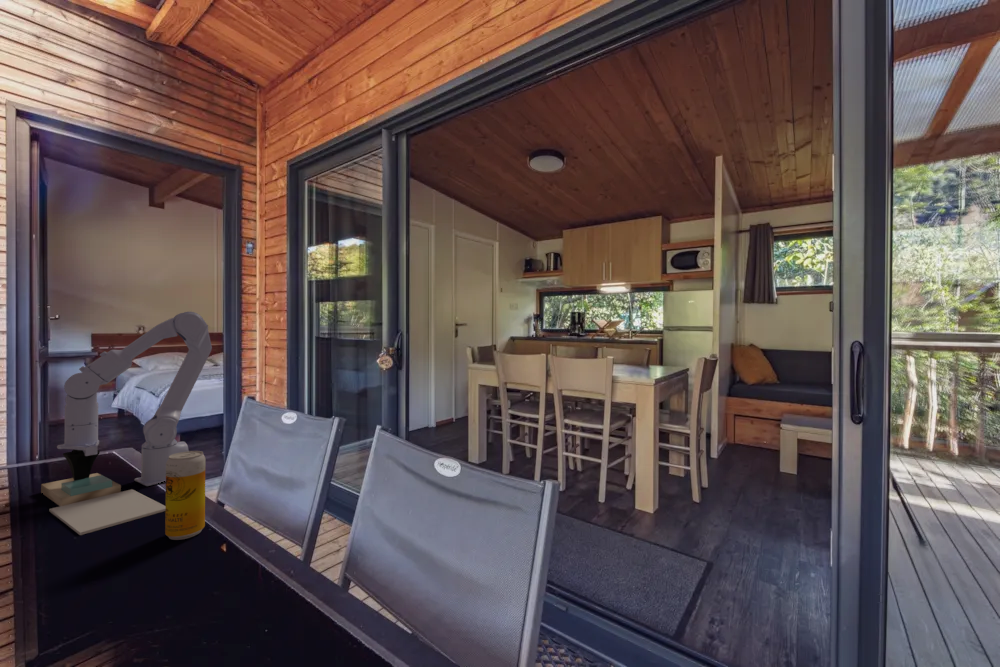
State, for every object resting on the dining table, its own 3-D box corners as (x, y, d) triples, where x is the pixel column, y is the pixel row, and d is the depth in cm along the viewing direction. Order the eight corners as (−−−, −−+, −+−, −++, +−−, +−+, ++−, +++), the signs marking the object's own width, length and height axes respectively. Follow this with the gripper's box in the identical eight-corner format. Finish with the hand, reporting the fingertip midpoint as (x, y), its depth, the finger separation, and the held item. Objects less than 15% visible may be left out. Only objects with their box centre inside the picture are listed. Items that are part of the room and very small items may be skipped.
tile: (101, 481, 104) (101, 475, 104) (112, 486, 101) (112, 480, 101) (61, 489, 99) (61, 483, 99) (70, 496, 95) (71, 489, 95)
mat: (132, 491, 103) (132, 489, 103) (168, 509, 93) (168, 507, 93) (49, 511, 92) (49, 508, 92) (80, 535, 81) (80, 532, 81)
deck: (97, 480, 111) (97, 472, 111) (120, 493, 102) (120, 485, 102) (41, 492, 102) (41, 484, 102) (61, 507, 94) (61, 498, 94)
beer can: (157, 538, 80) (157, 457, 80) (189, 524, 86) (189, 449, 86) (181, 543, 78) (182, 460, 78) (212, 529, 84) (213, 451, 84)
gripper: (49, 422, 103) (48, 480, 103) (67, 430, 95) (67, 492, 95) (88, 418, 109) (88, 472, 109) (109, 425, 101) (109, 483, 101)
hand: (81, 481), depth 102 cm, fingers closed
